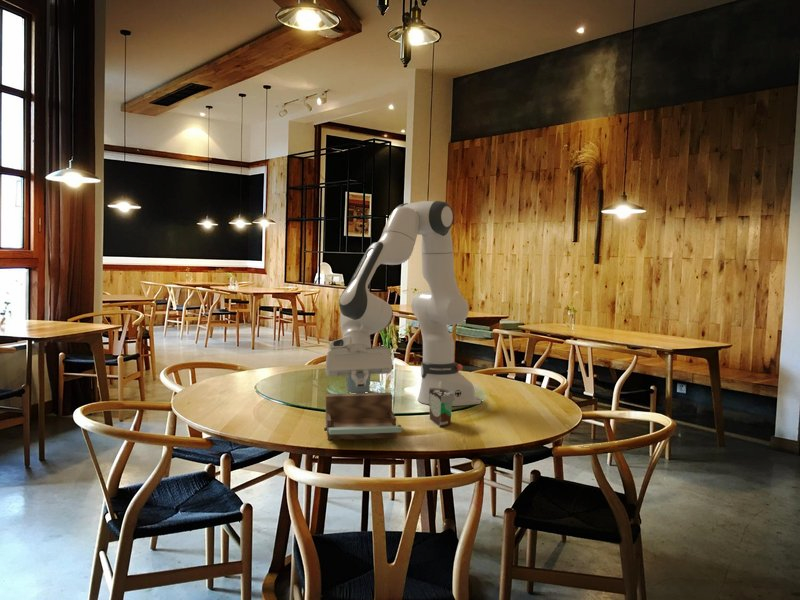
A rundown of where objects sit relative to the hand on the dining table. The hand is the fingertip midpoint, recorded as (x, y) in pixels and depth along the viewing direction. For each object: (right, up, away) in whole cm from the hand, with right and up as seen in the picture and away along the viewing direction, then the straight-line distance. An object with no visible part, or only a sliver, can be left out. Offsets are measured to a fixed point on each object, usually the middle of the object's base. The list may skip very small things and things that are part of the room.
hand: (361, 385), depth 194 cm
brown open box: (0, -14, +1) cm, 14 cm away
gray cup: (-4, -10, +53) cm, 54 cm away
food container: (+25, -14, +12) cm, 31 cm away
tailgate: (+1, -12, -6) cm, 13 cm away
